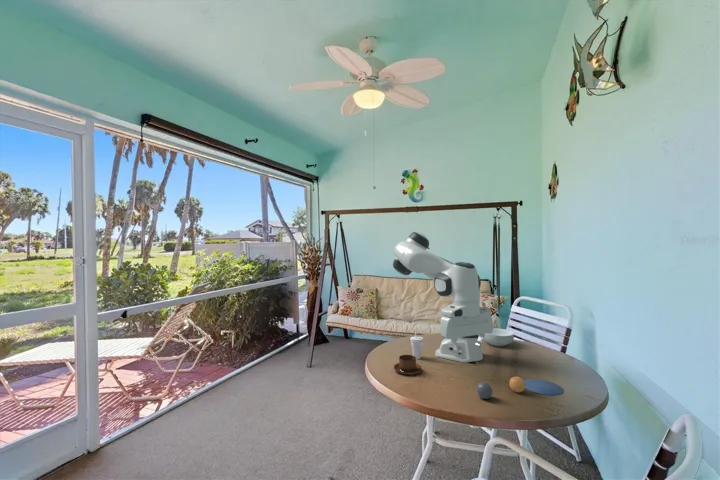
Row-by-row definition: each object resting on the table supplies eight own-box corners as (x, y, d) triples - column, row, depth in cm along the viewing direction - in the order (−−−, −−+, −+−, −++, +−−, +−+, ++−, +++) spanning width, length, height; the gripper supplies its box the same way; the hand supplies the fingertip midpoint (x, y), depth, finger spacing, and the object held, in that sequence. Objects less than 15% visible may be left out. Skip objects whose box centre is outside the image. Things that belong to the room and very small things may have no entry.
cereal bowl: (520, 348, 177) (520, 335, 177) (489, 349, 177) (489, 336, 177) (504, 339, 194) (504, 327, 194) (476, 340, 193) (476, 327, 194)
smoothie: (408, 355, 167) (408, 327, 167) (421, 355, 168) (421, 327, 168) (412, 360, 161) (411, 331, 161) (425, 359, 161) (424, 330, 161)
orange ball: (509, 393, 125) (509, 378, 125) (509, 387, 130) (509, 373, 130) (525, 396, 123) (525, 381, 123) (525, 390, 128) (525, 375, 128)
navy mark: (521, 390, 127) (521, 390, 127) (521, 377, 140) (521, 376, 140) (564, 398, 121) (564, 397, 121) (560, 383, 134) (560, 382, 134)
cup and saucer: (388, 372, 147) (388, 357, 147) (404, 364, 156) (404, 351, 156) (411, 379, 139) (411, 364, 139) (426, 371, 148) (426, 357, 148)
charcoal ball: (475, 399, 120) (475, 384, 120) (477, 393, 125) (477, 378, 125) (492, 402, 118) (491, 387, 118) (493, 396, 123) (493, 381, 123)
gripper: (484, 304, 125) (485, 342, 125) (437, 310, 118) (438, 349, 118) (496, 307, 119) (498, 346, 119) (447, 313, 112) (449, 354, 112)
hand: (468, 348), depth 118 cm, fingers open, 8 cm apart
